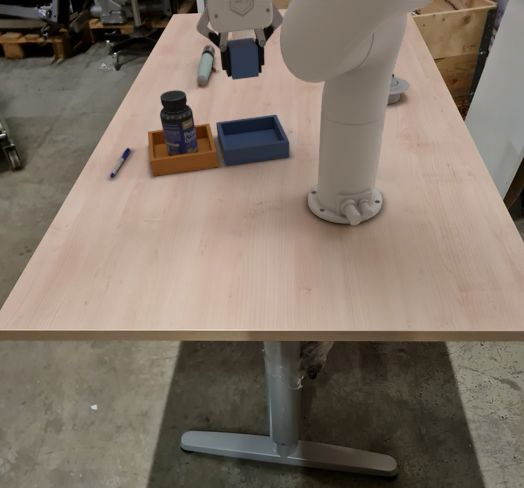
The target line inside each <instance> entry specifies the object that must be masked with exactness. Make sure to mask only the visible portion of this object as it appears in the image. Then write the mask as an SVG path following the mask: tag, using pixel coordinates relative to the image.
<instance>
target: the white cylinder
mask: <svg viewBox="0 0 524 488" xmlns="http://www.w3.org/2000/svg"><path fill="white" fill-rule="evenodd" d="M231 34H232V35H231V36H232V40H237V39H246V38H253V39H254V29H253V30H244V31H236V32H231Z"/></svg>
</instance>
